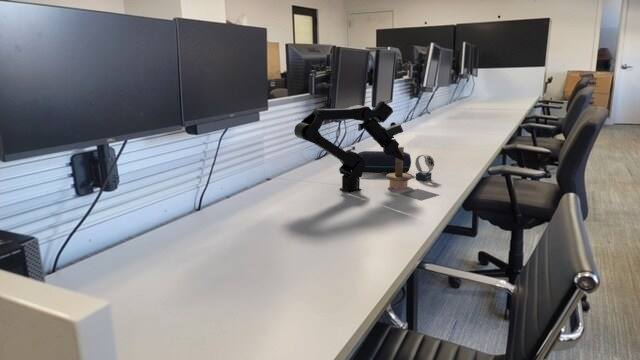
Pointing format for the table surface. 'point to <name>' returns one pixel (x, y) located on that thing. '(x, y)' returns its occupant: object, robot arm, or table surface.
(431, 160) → the watch
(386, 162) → the portable speaker
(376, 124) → the robot arm
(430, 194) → the mat
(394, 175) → the lid
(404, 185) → the bowl
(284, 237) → the table surface
